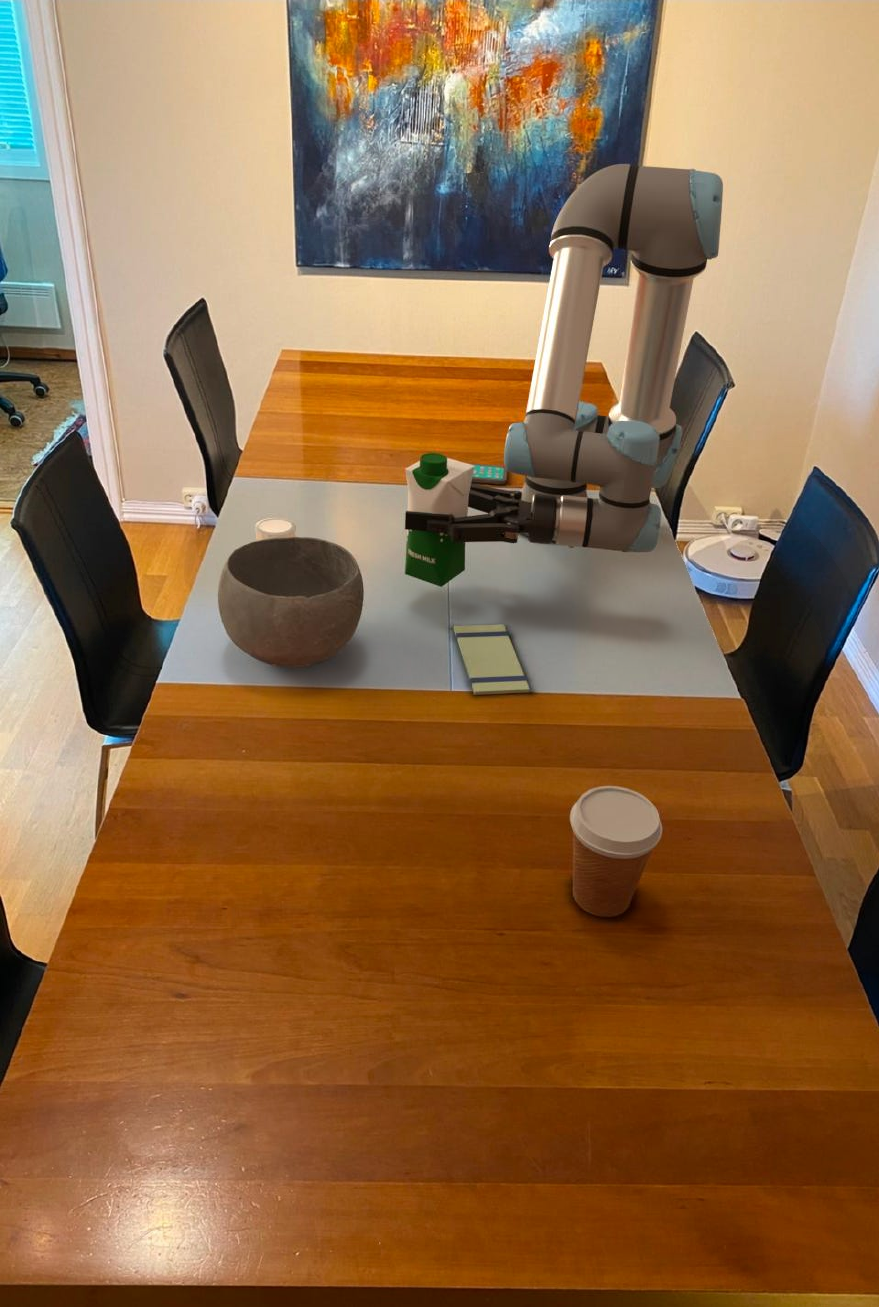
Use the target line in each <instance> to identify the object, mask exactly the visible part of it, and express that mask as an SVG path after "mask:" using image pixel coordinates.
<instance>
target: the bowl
mask: <svg viewBox="0 0 879 1307" xmlns="http://www.w3.org/2000/svg"><path fill="white" fill-rule="evenodd" d="M363 580H364V579H363V576H362V573H361V570H360V567H359V564H358V562H357V560H356V558H355V557H354V556H353V554H352V553H351V552H350V551H349V550H348V549H346V548H345V547H343V546H341V545H339V544H337V543H335V542H333V541H328V540H325V539H322V538H317V537H309V536H301V537H300V536H295V537H291V538H272V539H264V540H259V541H257V540H255V541H251V542H249V543H246V544H244V545H242V546H240V547H238V548H236V549H234V551H233V552H232V553H230V555H229V556H228V557H227V559H226V561H225V563H224V565H223V567H222V570H221V574H220V576H219V581H218V586H217V587H218V588H217V605H218V610H219V611H218V612H219V615H220V619H221V623H222V625H223V627H224V630H225V633H226V634H227V636H228V637H229V639H230V640H231V642H233V644H234V645H235V646H236V647H237V648H238V649H239V650H241V651H242V652H244V653H245V654H247V655H248V656H250V657H251V658H253V659H255V660H257V661H259V662H262V663H264V664H268V665H270V666H278V667H286V668H289V667H291V668H292V667H294V668H296V667H304V666H311V665H314V664H317V663H320V662H322V661H325V660H327V659H330V658H331V657H333V656H335V655H336V654H338V653H339V652H340V651H341V650H342V649H343V648H344V647H345V646H346V645H347V644H348V643H349V642H350V641H351V640H352V638H353V636H354V634H355V632H356V631H357V628H358V626H359V623H360V620H361V616H362V612H363V606H364V603H363V602H364V595H365V592H364V590H365V588H364V581H363Z"/></svg>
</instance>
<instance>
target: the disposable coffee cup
mask: <svg viewBox="0 0 879 1307" xmlns="http://www.w3.org/2000/svg"><path fill="white" fill-rule="evenodd" d="M569 821H570V825H571V829H572V834H573V835H572V836H573V837H572V847H573V848H572V896H573V899H574V901H575V903H576V904H577V905H578V906H579V907H580V908H581V909H582V910H584V912H586V913H589V914H591V915H594V916H597V917H602V918H604V917H605V918H613V917H616V916H620V915H621V914H623V913H624V912H626V911H627V909H629V907H630V904H631V901H632V900H633V897H634V895H635V892H636V889H637V888H638V885H639V883H640V880H641V878H642V875H643V873H644V870H645V867H646V865H647V863H648V861H649V859H650V856H651V853H652V851H653V849H654V848H655V847H656V846H657V844H658V843H659V842H660V840H661V838H662V836H663V825H662V821H661V819H660V814H659V811H658V809H657V807H656V806H655V805H654V804H653V802H652V801H651V800H650V799H648V798H647V796H645V795H643V794H641V793H640V792H638V791H635V790H632V789H630V788H626V787H623V786H616V785H603V786H596V787H594V788H591V789H588V790H587V791H585V792H584V793H582V794H581V796H580V797H579V798H578V800H577V801H576V802H575V803H574V804H573V806H572V807H571V810H570V814H569Z"/></svg>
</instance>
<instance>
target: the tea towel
mask: <svg viewBox="0 0 879 1307" xmlns="http://www.w3.org/2000/svg"><path fill="white" fill-rule="evenodd" d="M453 631H454V634H455V638H456V641H457V644H458V647H459V651H460V654H461V656H462V659H463V663H464V666H465V670H466V673H467V676H468V678H469V682H470V685H471V688H472V691H473V695H475V696H478V695H480V696H481V695H503V694H523V693H525V694H527V693H530V690H531V689H530V686H529V683H528V681H527V678H526V676H525V674H524V671H523V670H522V667H521V666H522V665H521V664H520V661H519V659H518V656H517V654H516V650H515V649H514V646H513V644H512V642H511V639H510V636H509V634H508V631H507V629H506V626H505V624H503V623H502V624H476V625H475V624H473V625H454V626H453Z"/></svg>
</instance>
